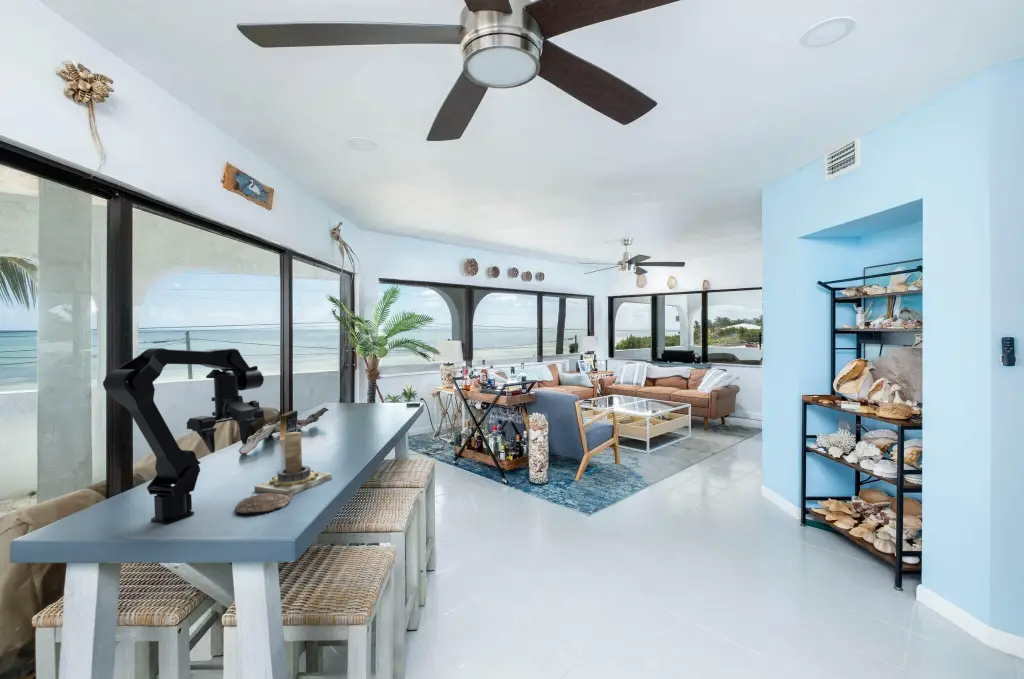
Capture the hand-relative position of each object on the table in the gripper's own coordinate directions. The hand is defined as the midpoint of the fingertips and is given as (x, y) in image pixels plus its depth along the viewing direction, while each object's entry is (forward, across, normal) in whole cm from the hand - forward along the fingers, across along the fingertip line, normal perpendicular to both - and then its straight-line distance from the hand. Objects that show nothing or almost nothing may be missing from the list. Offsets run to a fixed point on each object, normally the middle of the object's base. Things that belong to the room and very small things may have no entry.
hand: (228, 448), depth 125 cm
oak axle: (+11, +12, -11) cm, 19 cm away
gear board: (+13, +12, -11) cm, 21 cm away
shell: (+14, -4, -17) cm, 22 cm away
